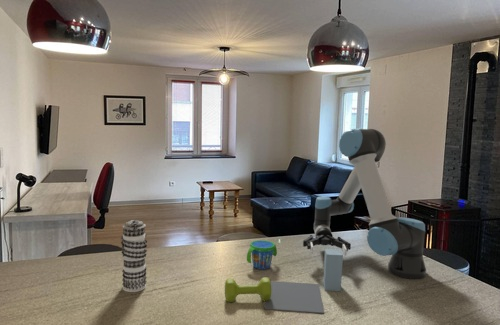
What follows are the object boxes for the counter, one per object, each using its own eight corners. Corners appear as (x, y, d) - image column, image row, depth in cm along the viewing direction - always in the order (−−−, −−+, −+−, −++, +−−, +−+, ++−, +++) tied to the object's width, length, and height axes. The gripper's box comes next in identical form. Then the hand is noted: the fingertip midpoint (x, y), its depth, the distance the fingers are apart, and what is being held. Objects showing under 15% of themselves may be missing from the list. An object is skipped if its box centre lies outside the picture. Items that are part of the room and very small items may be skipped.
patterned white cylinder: (120, 283, 145) (120, 219, 142) (146, 280, 149) (145, 217, 146) (122, 294, 137) (121, 226, 134) (148, 290, 140) (148, 224, 137)
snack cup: (269, 259, 174) (269, 237, 173) (283, 267, 165) (284, 244, 164) (240, 265, 166) (240, 243, 164) (253, 274, 157) (254, 250, 156)
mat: (318, 285, 149) (318, 284, 149) (324, 313, 127) (324, 312, 127) (267, 281, 150) (267, 280, 150) (264, 309, 129) (264, 308, 129)
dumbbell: (269, 293, 139) (269, 274, 139) (272, 303, 132) (272, 283, 131) (224, 294, 138) (224, 275, 138) (224, 305, 131) (224, 285, 130)
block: (338, 284, 150) (340, 249, 148) (340, 291, 144) (342, 255, 142) (323, 283, 150) (324, 248, 149) (324, 290, 144) (326, 254, 143)
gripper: (350, 244, 178) (359, 262, 157) (296, 241, 180) (297, 258, 159) (351, 229, 177) (360, 244, 156) (297, 225, 179) (298, 240, 158)
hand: (328, 251), depth 157 cm, fingers open, 13 cm apart
